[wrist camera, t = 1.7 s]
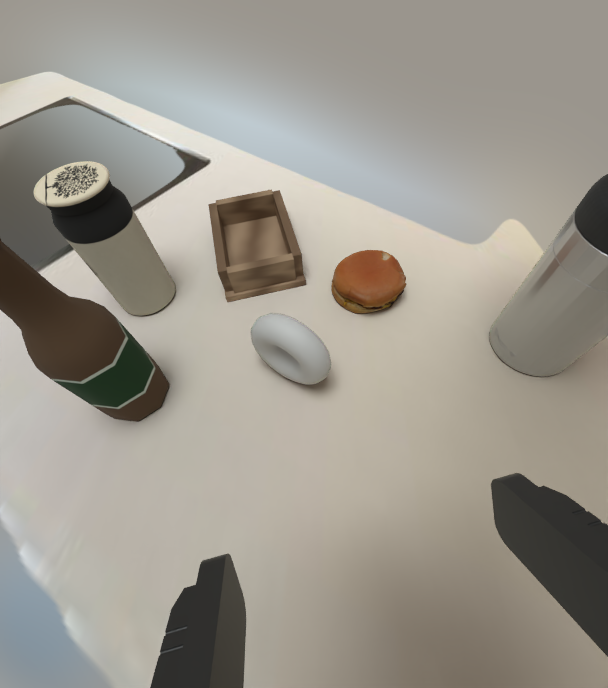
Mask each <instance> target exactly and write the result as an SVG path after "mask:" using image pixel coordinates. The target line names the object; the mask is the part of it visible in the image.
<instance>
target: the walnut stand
mask: <svg viewBox="0 0 608 688" xmlns="http://www.w3.org/2000/svg"><path fill="white" fill-rule="evenodd" d="M209 211H210V218H211V225H212V233H213V240H214V247H215V255H216V262H217V269H218V274H219V276H220V279H221V281H222V284H223V287H224V289H225V296H226V300H227V302H230V301H235V300H240V299H244V298H249V297H253V296H258V295H262V294H267V293H271V292H276V291H280V290H285V289H289V288H294V287H298V286H303V285H306V280H305V277H304V274H303V266H302V255H301V252H300V249H299V246H298V243H297V240H296V237H295V234H294V231H293V228H292V225H291V222H290V219H289V216H288V213H287V211H286V208H285V205H284V202H283V199H282V196H281V193H280V190H279V191H274V192H272V190H267V191H262V192H257V193H252V194H247V195H242V196H237V197H232V198H227V199H221V200H216V203H213V204H209Z"/></svg>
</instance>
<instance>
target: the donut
mask: <svg viewBox="0 0 608 688" xmlns="http://www.w3.org/2000/svg"><path fill="white" fill-rule="evenodd" d="M251 339H252V343H253V345H254V348H255V350H256V351H257V353H258V354H259V355H260V356H261V358H262V359H263V360H264V361H265V362H266V363H267V364H268V365H269V366H270V367H271V368H273V369H274V370H275V371H277V372H278V373H280V374H281V375H283V376H284V377H286V378H288V379H290V380H292V381H295V382H298V383H302V384H316V383H318V382H320V381H322V380H324V379H325V378H326V377H327V375H328V373H329V370H330V368H331V360H330V355H329V352H328V350H327V348H326V346H325V345H324V343H323V342H322V340H321V339H320V338H319V337H318V336H317V335H316V334H315V333H314V332H313V331H312V330H311V329H309V328H308V327H307V326H306V325H304V324H303V323H301V322H299V321H298V320H296V319H294V318H292V317H289V316H286V315H284V314H275V313H270V314H267V315H264V316H261V317H259V318H258V319H257V320H256V322H255V323H254V325H253V327H252V328H251Z"/></svg>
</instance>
